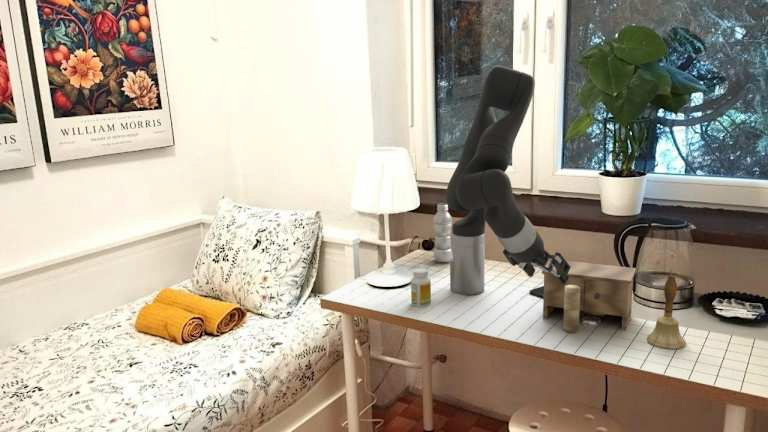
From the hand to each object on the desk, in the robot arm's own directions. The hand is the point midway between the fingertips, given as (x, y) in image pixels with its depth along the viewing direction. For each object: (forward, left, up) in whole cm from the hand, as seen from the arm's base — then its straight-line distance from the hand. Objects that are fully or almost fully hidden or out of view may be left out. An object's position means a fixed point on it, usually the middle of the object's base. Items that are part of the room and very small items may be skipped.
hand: (548, 277), depth 137 cm
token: (+7, +17, -16) cm, 24 cm away
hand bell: (+25, +12, -16) cm, 32 cm away
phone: (-4, +32, -17) cm, 36 cm away
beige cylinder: (+5, +16, -16) cm, 23 cm away
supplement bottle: (-37, +12, -16) cm, 43 cm away
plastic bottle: (-47, +52, -16) cm, 72 cm away
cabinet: (+6, +20, -16) cm, 26 cm away
